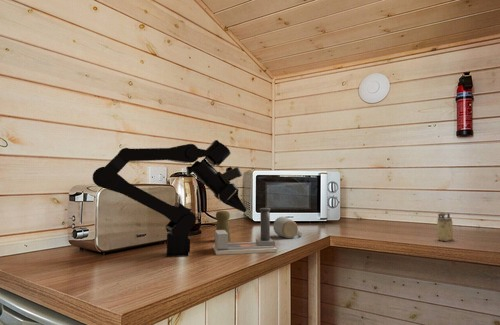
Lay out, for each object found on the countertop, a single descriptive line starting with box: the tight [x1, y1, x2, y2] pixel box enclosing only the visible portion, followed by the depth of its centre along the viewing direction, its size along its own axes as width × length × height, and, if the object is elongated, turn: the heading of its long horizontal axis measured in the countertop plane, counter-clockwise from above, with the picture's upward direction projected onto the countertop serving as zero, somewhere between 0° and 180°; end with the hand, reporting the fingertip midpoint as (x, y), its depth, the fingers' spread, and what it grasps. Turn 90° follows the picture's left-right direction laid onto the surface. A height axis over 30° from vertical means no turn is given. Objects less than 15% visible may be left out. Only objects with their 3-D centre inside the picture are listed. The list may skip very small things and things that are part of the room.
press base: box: [212, 229, 278, 256], centre depth 107 cm, size 19×10×6 cm, turn 101°
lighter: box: [436, 212, 454, 242], centre depth 124 cm, size 7×4×10 cm, turn 124°
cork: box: [215, 210, 232, 243], centre depth 123 cm, size 6×6×11 cm
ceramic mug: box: [272, 216, 303, 239], centre depth 131 cm, size 11×8×8 cm
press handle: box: [255, 207, 276, 247], centre depth 109 cm, size 5×6×12 cm
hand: (243, 209), depth 108 cm, fingers open, 9 cm apart
